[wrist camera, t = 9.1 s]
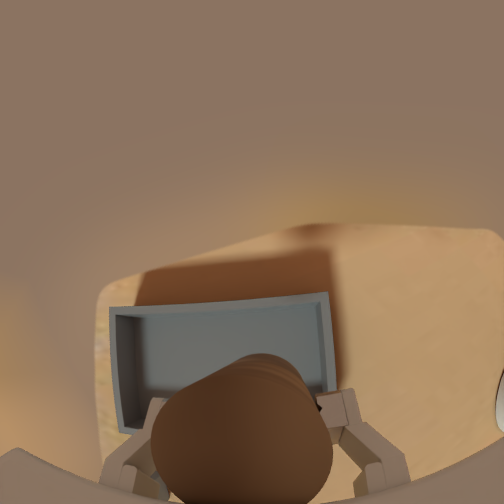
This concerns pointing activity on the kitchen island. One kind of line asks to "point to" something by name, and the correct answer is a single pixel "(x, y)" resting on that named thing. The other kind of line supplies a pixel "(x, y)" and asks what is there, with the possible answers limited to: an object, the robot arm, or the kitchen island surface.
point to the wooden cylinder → (243, 437)
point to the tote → (213, 346)
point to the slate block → (161, 487)
